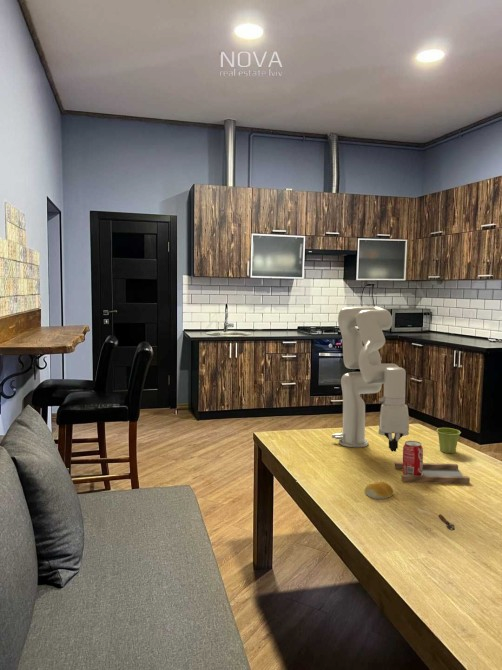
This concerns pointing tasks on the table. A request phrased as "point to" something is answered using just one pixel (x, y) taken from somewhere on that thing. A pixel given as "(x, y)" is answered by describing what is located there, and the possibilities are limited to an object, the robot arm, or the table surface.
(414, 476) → the walnut rails
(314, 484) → the table surface
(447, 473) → the pad
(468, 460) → the table surface
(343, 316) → the robot arm
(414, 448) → the soda can
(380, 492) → the bread roll
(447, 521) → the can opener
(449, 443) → the plant pot
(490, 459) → the table surface
